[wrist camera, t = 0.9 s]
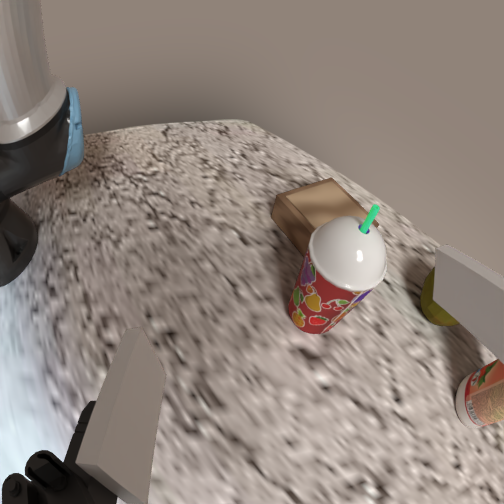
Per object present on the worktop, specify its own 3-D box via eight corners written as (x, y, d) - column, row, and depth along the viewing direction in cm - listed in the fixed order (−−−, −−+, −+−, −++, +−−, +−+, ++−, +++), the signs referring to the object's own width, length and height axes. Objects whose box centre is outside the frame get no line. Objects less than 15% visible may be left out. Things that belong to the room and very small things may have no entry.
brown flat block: (271, 217, 48) (276, 193, 44) (323, 198, 53) (331, 176, 49) (316, 272, 43) (327, 250, 39) (367, 243, 48) (380, 223, 44)
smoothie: (349, 331, 38) (434, 237, 22) (294, 352, 35) (364, 257, 19) (323, 281, 42) (382, 172, 26) (271, 296, 40) (311, 178, 24)
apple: (409, 276, 45) (444, 235, 36) (451, 291, 44) (487, 255, 35) (409, 329, 39) (454, 292, 30) (454, 341, 38) (499, 309, 29)
